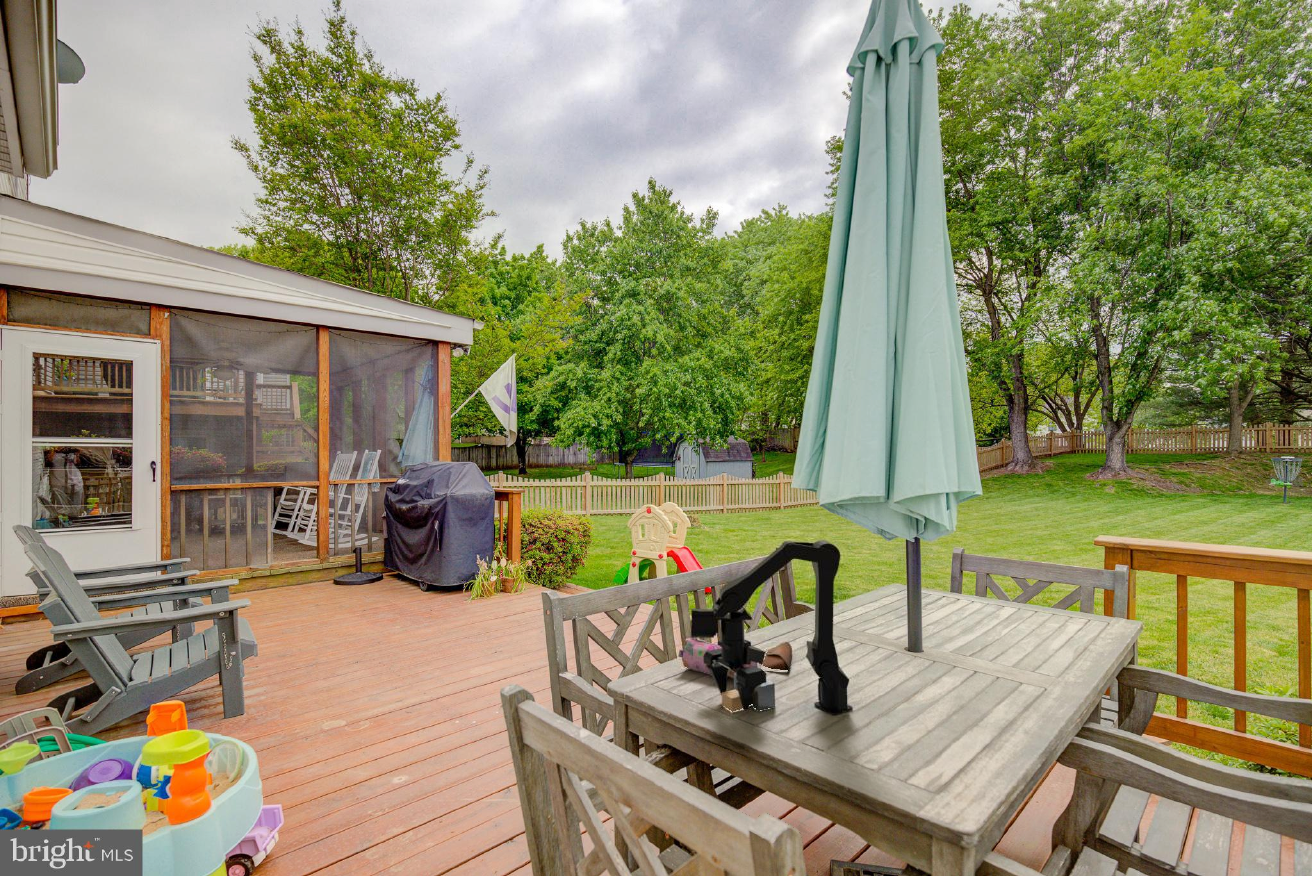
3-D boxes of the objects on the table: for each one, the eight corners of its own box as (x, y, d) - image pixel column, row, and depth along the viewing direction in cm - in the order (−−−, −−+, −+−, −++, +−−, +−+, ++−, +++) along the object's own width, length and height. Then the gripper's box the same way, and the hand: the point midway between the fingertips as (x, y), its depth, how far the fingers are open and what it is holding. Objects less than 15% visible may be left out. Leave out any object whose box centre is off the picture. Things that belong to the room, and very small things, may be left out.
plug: (774, 701, 138) (773, 687, 139) (732, 713, 132) (731, 698, 132) (763, 695, 142) (763, 681, 142) (722, 707, 136) (721, 692, 136)
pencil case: (678, 672, 159) (677, 640, 159) (694, 662, 167) (693, 632, 167) (746, 688, 147) (745, 653, 147) (760, 677, 155) (759, 644, 155)
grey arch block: (775, 707, 135) (774, 683, 135) (758, 712, 132) (758, 687, 133) (750, 693, 144) (749, 670, 144) (734, 697, 141) (733, 673, 142)
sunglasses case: (764, 650, 176) (774, 632, 175) (784, 663, 174) (794, 645, 173) (759, 671, 158) (770, 651, 158) (781, 685, 157) (793, 666, 156)
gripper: (783, 642, 131) (785, 709, 131) (737, 623, 148) (738, 682, 147) (745, 650, 126) (747, 720, 126) (701, 629, 143) (703, 691, 142)
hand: (734, 702), depth 135 cm, fingers open, 9 cm apart
